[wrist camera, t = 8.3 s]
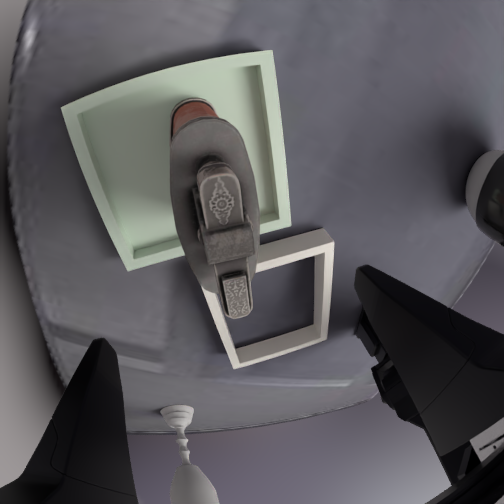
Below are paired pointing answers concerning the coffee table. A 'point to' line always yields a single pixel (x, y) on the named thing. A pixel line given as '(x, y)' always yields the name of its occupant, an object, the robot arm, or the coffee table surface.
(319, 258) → the white picture frame
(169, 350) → the coffee table surface
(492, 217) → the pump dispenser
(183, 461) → the chalice
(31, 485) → the robot arm
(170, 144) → the lighter
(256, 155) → the tray
